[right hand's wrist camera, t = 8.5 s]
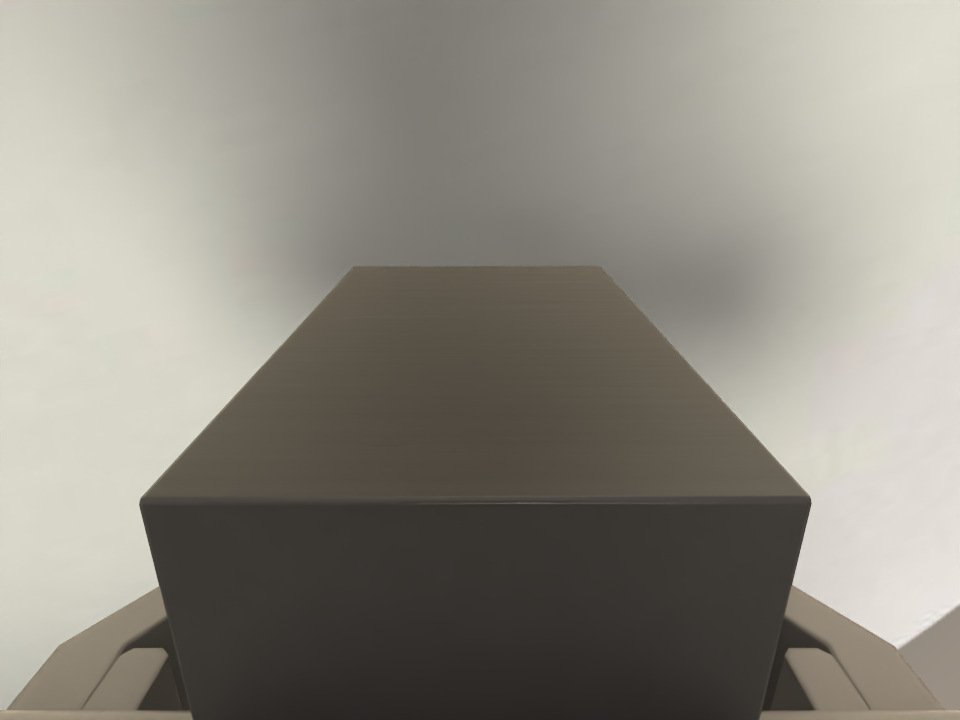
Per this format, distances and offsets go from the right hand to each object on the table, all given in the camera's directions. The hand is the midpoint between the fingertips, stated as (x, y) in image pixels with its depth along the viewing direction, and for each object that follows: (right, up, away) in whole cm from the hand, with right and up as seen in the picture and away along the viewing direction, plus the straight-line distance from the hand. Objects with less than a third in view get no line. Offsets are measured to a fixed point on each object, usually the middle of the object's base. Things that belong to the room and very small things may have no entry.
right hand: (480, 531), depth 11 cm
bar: (0, -7, +5) cm, 9 cm away
